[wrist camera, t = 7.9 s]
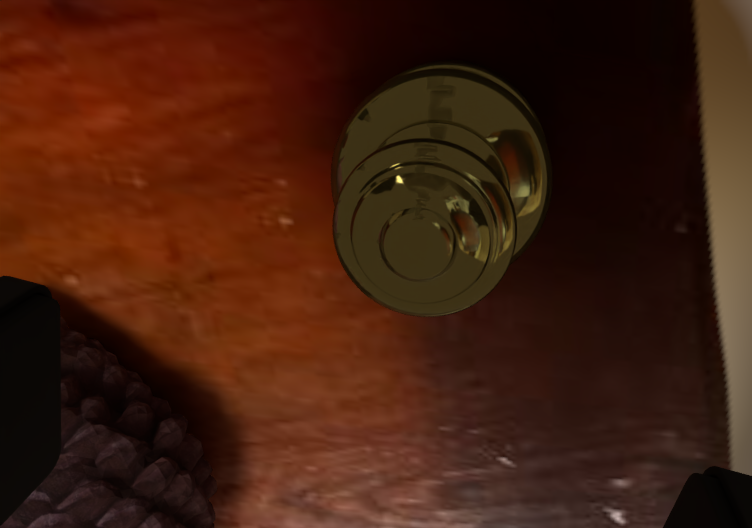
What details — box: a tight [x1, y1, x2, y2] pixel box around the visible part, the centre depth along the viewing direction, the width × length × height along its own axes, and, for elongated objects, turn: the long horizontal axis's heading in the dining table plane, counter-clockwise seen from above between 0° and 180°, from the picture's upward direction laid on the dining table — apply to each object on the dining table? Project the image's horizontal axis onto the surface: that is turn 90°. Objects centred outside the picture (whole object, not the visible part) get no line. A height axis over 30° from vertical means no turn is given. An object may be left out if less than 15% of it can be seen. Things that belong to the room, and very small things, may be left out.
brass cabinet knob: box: [331, 60, 553, 317], centre depth 21 cm, size 7×7×10 cm
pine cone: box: [0, 316, 217, 528], centre depth 30 cm, size 18×10×10 cm
